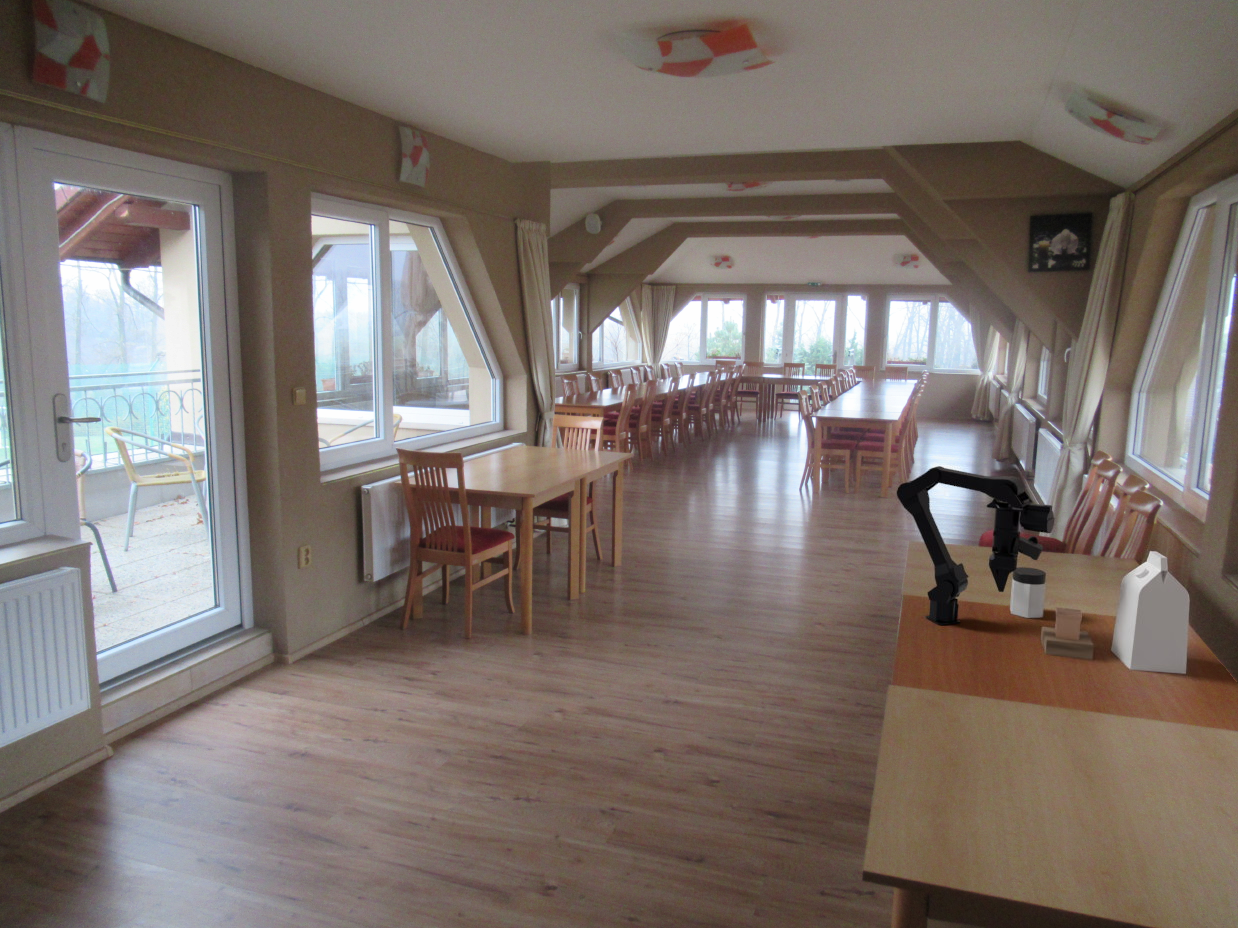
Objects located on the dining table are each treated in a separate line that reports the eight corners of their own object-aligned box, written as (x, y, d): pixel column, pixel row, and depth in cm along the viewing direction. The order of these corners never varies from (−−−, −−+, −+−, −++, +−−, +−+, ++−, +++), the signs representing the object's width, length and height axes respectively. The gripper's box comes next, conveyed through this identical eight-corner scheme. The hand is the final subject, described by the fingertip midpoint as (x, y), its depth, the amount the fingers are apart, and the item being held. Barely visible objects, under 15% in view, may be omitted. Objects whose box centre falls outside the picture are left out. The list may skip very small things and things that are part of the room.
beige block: (1092, 661, 200) (1093, 645, 199) (1045, 655, 204) (1046, 639, 203) (1085, 646, 209) (1086, 631, 209) (1040, 641, 213) (1041, 626, 212)
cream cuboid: (1079, 640, 202) (1082, 616, 201) (1054, 637, 205) (1056, 613, 204) (1078, 633, 207) (1080, 609, 206) (1054, 630, 209) (1055, 606, 209)
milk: (1185, 673, 192) (1198, 562, 188) (1130, 669, 194) (1141, 559, 190) (1163, 653, 204) (1174, 549, 200) (1111, 650, 206) (1121, 546, 202)
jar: (1049, 614, 232) (1053, 572, 230) (1035, 620, 227) (1039, 577, 225) (1017, 606, 239) (1020, 565, 237) (1002, 612, 233) (1006, 570, 232)
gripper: (1042, 538, 201) (1036, 601, 203) (1042, 522, 217) (1037, 581, 220) (990, 533, 206) (986, 595, 208) (995, 518, 222) (990, 575, 225)
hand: (1001, 586), depth 215 cm, fingers open, 9 cm apart
